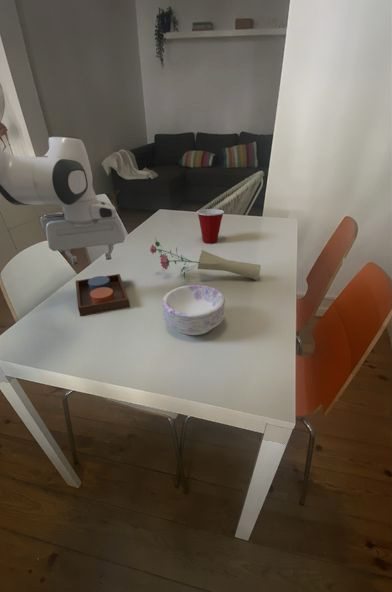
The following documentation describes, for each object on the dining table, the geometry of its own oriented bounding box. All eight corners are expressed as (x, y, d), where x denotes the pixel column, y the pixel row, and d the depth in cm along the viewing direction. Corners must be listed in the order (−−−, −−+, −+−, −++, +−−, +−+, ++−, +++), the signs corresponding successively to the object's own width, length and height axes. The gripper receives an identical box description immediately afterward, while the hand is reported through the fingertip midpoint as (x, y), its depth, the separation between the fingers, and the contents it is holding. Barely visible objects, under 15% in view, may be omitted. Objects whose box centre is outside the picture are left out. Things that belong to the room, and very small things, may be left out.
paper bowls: (153, 334, 79) (150, 306, 74) (181, 305, 90) (179, 279, 85) (210, 349, 74) (210, 320, 69) (231, 316, 85) (233, 290, 80)
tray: (129, 307, 90) (128, 299, 88) (80, 316, 87) (77, 307, 85) (120, 281, 103) (119, 273, 101) (77, 288, 100) (75, 280, 98)
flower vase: (249, 304, 105) (144, 282, 101) (249, 278, 111) (151, 257, 108) (261, 278, 95) (145, 253, 92) (261, 251, 102) (153, 227, 99)
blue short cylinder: (89, 286, 99) (87, 277, 97) (110, 283, 101) (108, 274, 99) (90, 296, 94) (88, 286, 92) (112, 292, 96) (110, 283, 94)
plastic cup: (223, 236, 135) (224, 206, 127) (222, 246, 126) (223, 214, 119) (198, 236, 136) (197, 206, 128) (195, 245, 127) (195, 214, 120)
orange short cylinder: (91, 298, 93) (88, 289, 91) (113, 294, 95) (111, 285, 93) (93, 309, 88) (91, 299, 86) (116, 304, 90) (114, 295, 88)
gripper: (37, 217, 77) (53, 270, 86) (121, 209, 83) (129, 260, 91) (38, 210, 82) (53, 262, 91) (118, 203, 87) (125, 252, 96)
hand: (92, 261), depth 91 cm, fingers open, 8 cm apart
